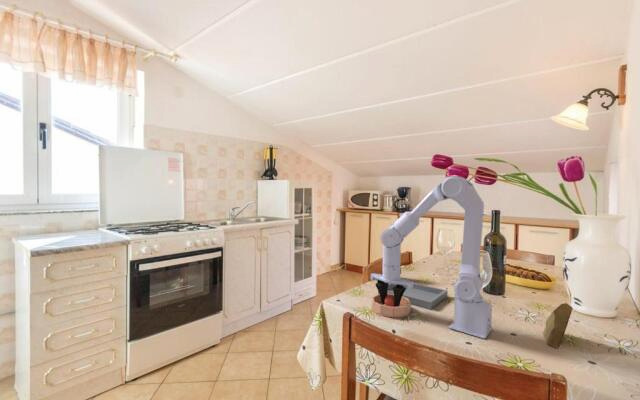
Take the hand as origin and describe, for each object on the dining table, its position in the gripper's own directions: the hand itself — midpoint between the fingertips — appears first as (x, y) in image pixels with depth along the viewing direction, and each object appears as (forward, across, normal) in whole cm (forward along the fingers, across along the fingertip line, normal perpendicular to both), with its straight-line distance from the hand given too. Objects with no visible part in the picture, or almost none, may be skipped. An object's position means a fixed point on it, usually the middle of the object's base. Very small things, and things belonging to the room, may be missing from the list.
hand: (390, 305), depth 101 cm
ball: (-1, 0, 0) cm, 1 cm away
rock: (+2, -42, -12) cm, 44 cm away
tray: (+1, 0, -17) cm, 17 cm away
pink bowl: (+1, 0, 0) cm, 1 cm away
